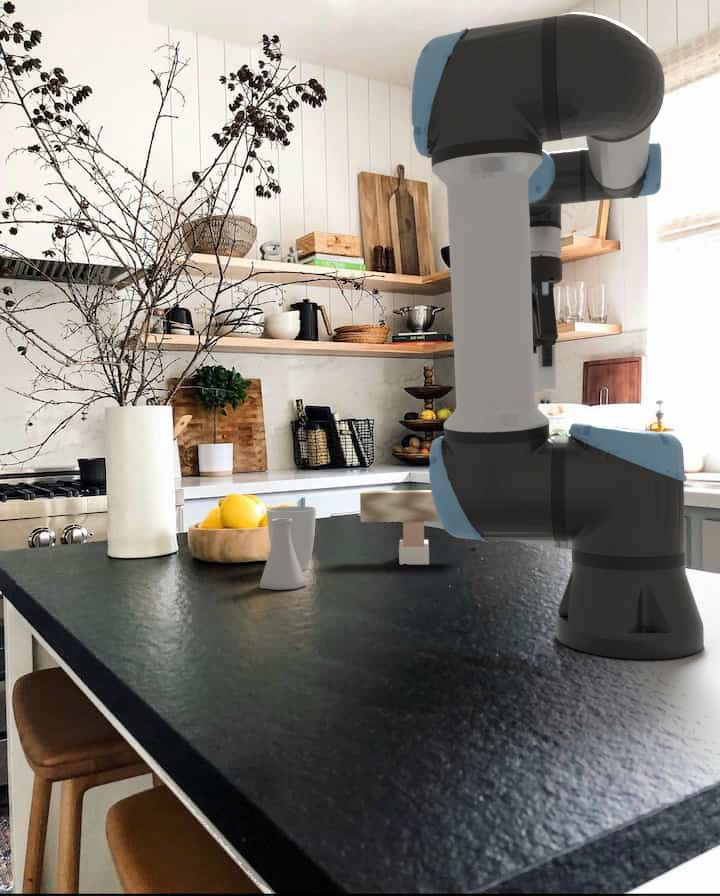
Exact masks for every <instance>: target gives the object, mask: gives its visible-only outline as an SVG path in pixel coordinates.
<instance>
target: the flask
mask: <svg viewBox="0 0 720 896" xmlns="http://www.w3.org/2000/svg"><path fill="white" fill-rule="evenodd" d="M271 523H272V525H273V539H272V546H271V545H270V550H269V552H268V553H269V554H268V556H267V560H266V563H265V566H264V569H263V573H262V576H261V578H260V582H259V588H260V589H267V590H275V591H279V590H280V591H281V590H296V589H299V588H302V587H305V586H307V582H306V579H305V576H304V573H303V571H302V570H301V568H300V565H299V562H298V560H297V557H296V554H295V551H294V548H293V545H292V539H291V534H290V524H291V523H292V519H287V518H281V519H272V520H271Z"/></svg>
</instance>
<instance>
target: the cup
mask: <svg viewBox="0 0 720 896" xmlns="http://www.w3.org/2000/svg"><path fill="white" fill-rule="evenodd" d="M316 510H317V509H316V507H312V506H296V505H295V506H280V507H271V508H267V509H266V519H267V531H268V538H269V543H270V547H271V546H272V539H273V525H272V523H271V520H272V519H281V518H287V519H292V523H291V524H290V534H291V539H292V545H293V548H294V551H295V554H296V557H297V560H298V562H299V565H300V568H301V570H302V572H304V571H307V570H308V568H309V565H310V562H311V558H312V554H313V550H314V540H315V534H316Z"/></svg>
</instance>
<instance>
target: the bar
mask: <svg viewBox="0 0 720 896" xmlns="http://www.w3.org/2000/svg"><path fill="white" fill-rule="evenodd" d="M359 499H360V500H359V505H360V507H359V508H360V523H388V522H389V523H390V522H391V523H393V522H394V523H395V522H396V523H398V522H400V523H403V522H416V521H424V522H440V520H439V518H438V515H437V512H436V509H435V506H434V502H433V497H432V492H431V489H422V490H421V489H420V490H419V489H417V490H415V489H413V490H412V489H411V490H407V489H406V490H403V489H401V490H361V491H360V492H359Z"/></svg>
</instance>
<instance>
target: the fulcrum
mask: <svg viewBox="0 0 720 896" xmlns="http://www.w3.org/2000/svg"><path fill="white" fill-rule="evenodd" d="M402 534H403V535H402V536H403V538H402V539H400V540H399V544H398V545H399V546H398V555H399V556H398V561H399V564H400V565H402V566H403V564H407V565H430V548H429V547H430V545H429V539H425V521H416V522H402Z"/></svg>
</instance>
